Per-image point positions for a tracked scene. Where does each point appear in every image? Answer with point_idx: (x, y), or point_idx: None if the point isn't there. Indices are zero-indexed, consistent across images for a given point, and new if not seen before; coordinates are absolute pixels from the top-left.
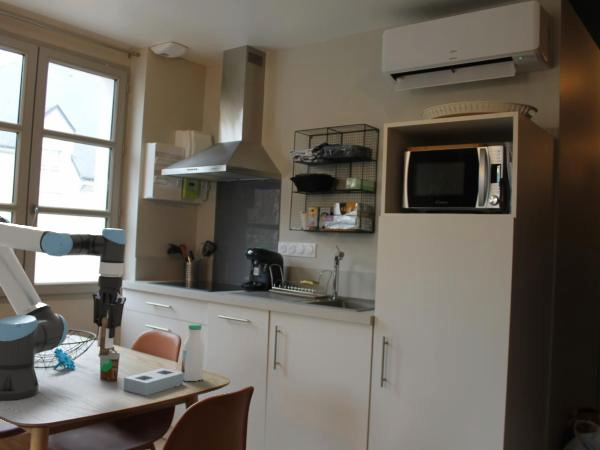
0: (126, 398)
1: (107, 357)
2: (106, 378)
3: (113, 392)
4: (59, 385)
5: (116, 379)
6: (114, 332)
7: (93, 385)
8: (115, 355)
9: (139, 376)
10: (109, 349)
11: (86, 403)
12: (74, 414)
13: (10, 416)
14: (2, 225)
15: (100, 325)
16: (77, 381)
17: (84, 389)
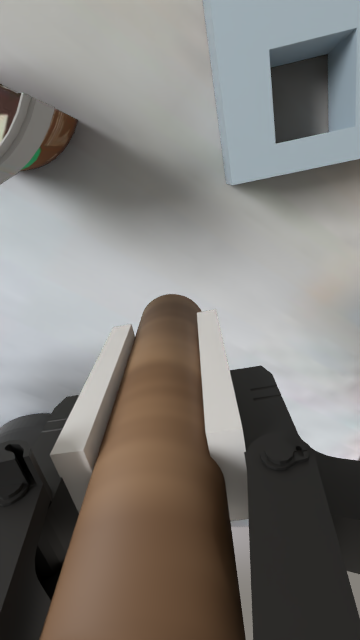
0: (335, 245)
1: (5, 175)
2: (44, 163)
3: (231, 240)
4: (33, 343)
5: (75, 123)
6: (283, 409)
7: (93, 250)
8: (28, 130)
9: (267, 92)
10: (194, 315)
11: (279, 374)
12: (340, 438)
13: (241, 525)
14: None
15: (72, 533)
16: (5, 269)
17: (128, 304)
